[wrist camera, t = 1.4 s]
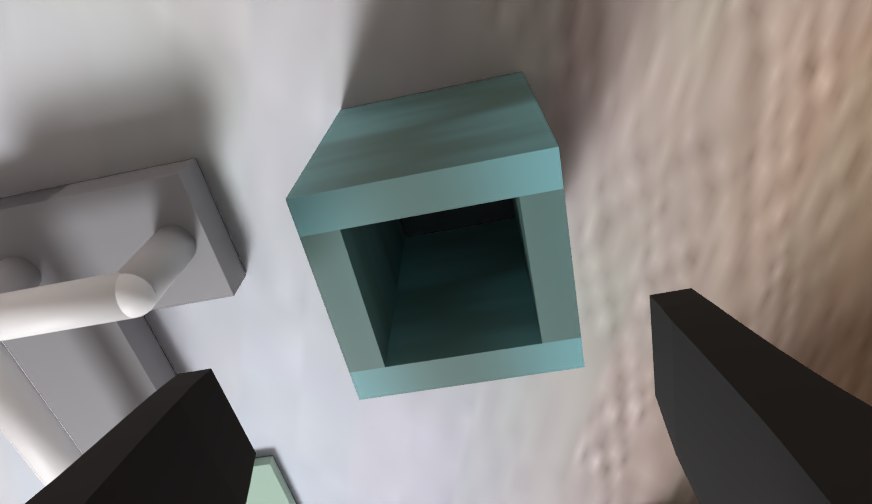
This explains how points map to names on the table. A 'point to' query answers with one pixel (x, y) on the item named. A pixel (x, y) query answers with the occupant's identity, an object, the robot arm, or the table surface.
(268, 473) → the end mat
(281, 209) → the table surface
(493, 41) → the table surface
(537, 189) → the collar
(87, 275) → the bar handle
